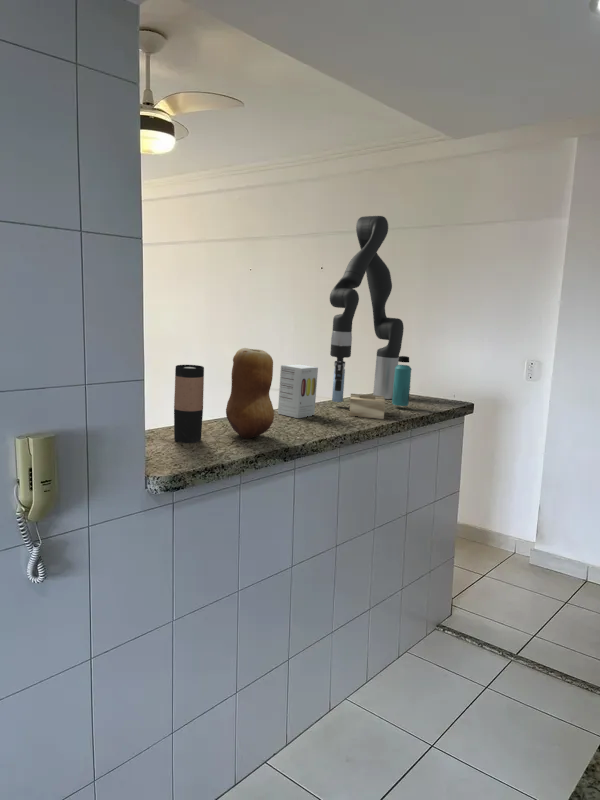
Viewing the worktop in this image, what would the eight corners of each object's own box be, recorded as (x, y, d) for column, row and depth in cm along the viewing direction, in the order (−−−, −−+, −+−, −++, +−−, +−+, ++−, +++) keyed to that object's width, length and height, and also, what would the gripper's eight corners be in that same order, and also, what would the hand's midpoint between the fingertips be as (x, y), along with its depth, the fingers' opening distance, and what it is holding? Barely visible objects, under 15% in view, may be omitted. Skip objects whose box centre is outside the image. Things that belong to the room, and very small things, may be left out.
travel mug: (167, 438, 161) (169, 365, 157) (191, 434, 166) (193, 364, 162) (183, 444, 155) (185, 369, 152) (207, 440, 161) (210, 367, 157)
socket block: (349, 409, 218) (350, 393, 217) (382, 412, 217) (383, 396, 216) (349, 416, 206) (350, 399, 205) (383, 418, 205) (385, 401, 204)
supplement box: (297, 418, 196) (301, 368, 193) (276, 414, 202) (279, 364, 199) (315, 415, 204) (318, 366, 200) (294, 410, 209) (297, 363, 206)
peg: (332, 399, 223) (334, 368, 221) (342, 400, 223) (345, 368, 221) (331, 401, 219) (333, 369, 217) (342, 402, 219) (344, 370, 217)
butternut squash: (282, 438, 168) (287, 351, 164) (245, 445, 159) (249, 352, 154) (250, 428, 178) (255, 345, 173) (214, 434, 168) (217, 346, 164)
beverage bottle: (409, 410, 224) (414, 357, 220) (392, 409, 224) (396, 356, 220) (406, 407, 230) (411, 355, 227) (389, 406, 230) (394, 354, 227)
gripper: (331, 341, 224) (328, 386, 227) (330, 344, 210) (327, 392, 214) (351, 342, 224) (348, 387, 227) (351, 346, 210) (347, 393, 213)
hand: (338, 389), depth 220 cm, fingers closed on peg, 4 cm apart
